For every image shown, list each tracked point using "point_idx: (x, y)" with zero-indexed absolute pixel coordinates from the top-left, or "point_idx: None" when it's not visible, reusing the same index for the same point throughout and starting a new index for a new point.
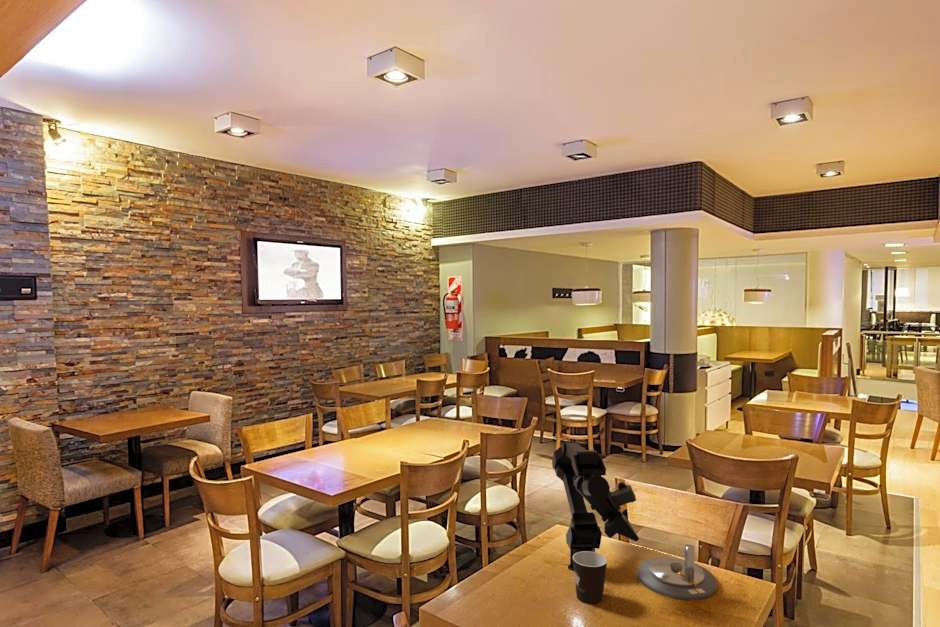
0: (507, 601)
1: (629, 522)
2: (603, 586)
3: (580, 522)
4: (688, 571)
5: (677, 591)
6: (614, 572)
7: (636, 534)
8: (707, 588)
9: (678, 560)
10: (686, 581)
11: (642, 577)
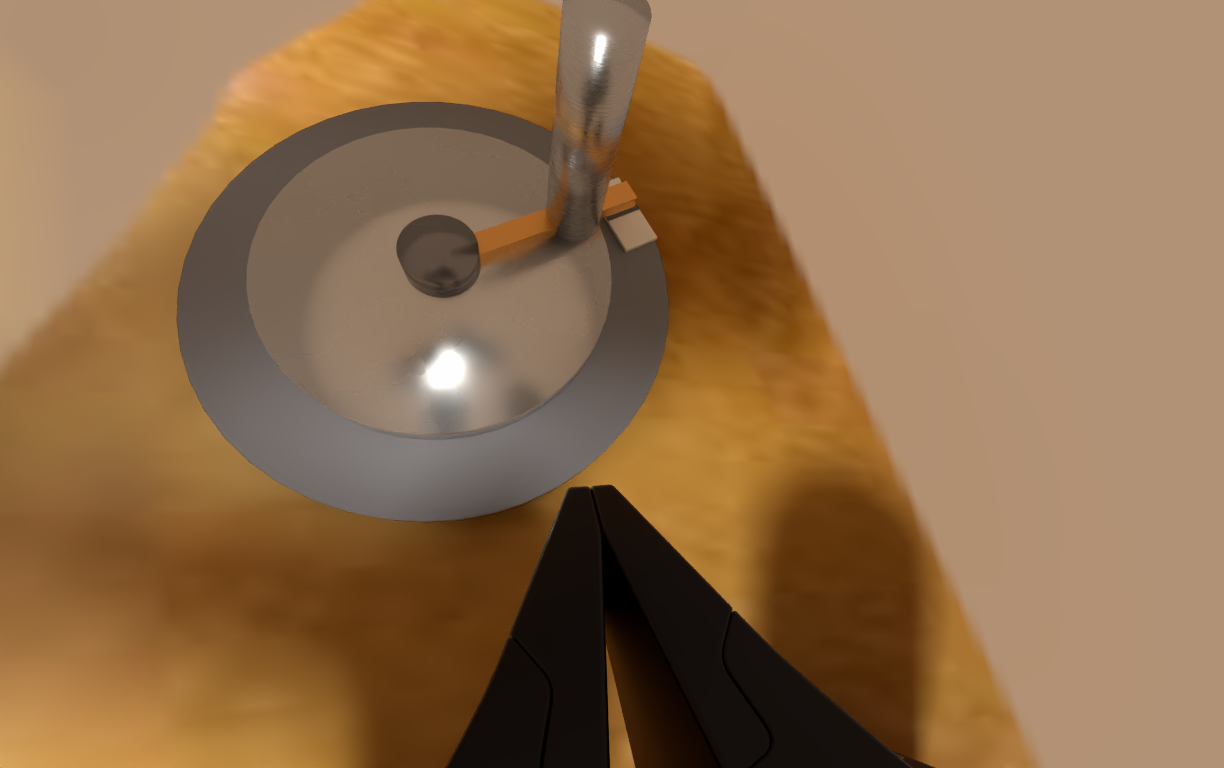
0: None
1: (509, 729)
2: (917, 762)
3: None
4: (609, 181)
5: (651, 300)
6: (429, 699)
7: (593, 520)
8: None
9: (287, 232)
10: (593, 232)
11: (544, 486)
